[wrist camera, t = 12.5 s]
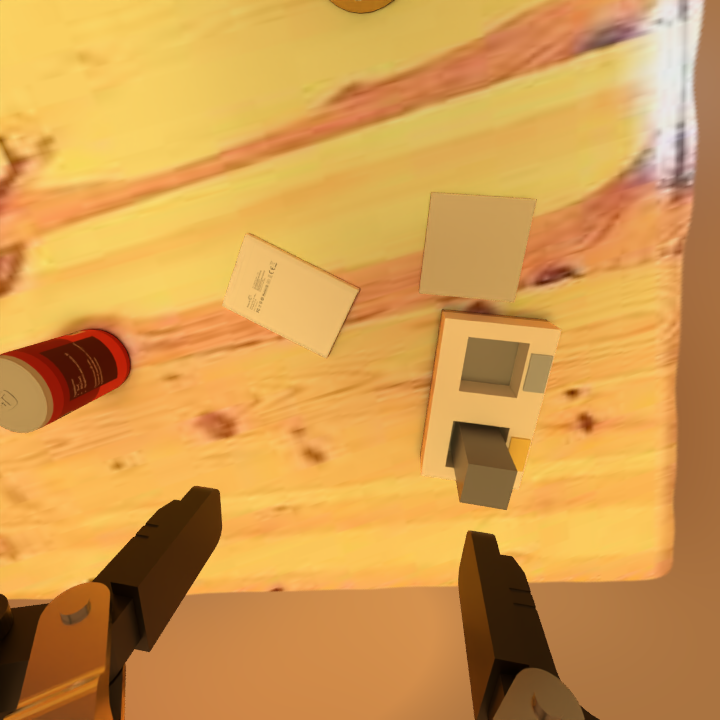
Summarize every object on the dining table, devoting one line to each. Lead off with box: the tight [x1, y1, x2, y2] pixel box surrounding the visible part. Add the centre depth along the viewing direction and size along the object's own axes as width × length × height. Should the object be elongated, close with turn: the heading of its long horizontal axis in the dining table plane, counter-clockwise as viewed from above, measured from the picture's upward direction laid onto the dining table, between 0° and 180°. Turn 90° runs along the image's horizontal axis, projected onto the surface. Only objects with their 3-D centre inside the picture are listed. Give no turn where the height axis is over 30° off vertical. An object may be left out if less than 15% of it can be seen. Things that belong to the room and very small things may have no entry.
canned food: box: [0, 329, 130, 433], centre depth 39 cm, size 8×8×11 cm
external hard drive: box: [222, 234, 360, 358], centre depth 38 cm, size 2×8×12 cm
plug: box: [450, 421, 518, 510], centre depth 35 cm, size 4×4×9 cm
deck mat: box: [419, 192, 537, 302], centre depth 34 cm, size 9×9×1 cm
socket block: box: [420, 309, 561, 490], centre depth 37 cm, size 17×10×4 cm, turn 176°
